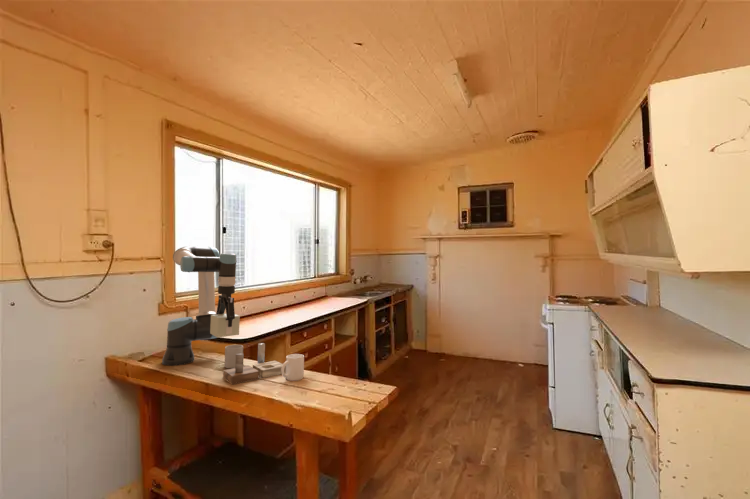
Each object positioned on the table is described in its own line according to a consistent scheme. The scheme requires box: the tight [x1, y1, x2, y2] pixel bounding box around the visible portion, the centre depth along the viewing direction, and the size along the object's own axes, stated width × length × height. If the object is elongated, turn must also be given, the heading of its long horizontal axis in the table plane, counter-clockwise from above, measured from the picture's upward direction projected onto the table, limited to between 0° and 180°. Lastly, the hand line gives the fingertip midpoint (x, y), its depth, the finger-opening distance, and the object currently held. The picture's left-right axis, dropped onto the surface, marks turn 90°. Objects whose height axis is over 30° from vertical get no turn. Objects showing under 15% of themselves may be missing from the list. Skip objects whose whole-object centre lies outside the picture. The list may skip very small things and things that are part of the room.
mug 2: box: [280, 353, 305, 382], centre depth 160 cm, size 12×8×10 cm
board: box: [222, 353, 260, 385], centre depth 160 cm, size 12×12×12 cm
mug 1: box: [224, 344, 244, 369], centre depth 181 cm, size 11×10×10 cm
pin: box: [257, 342, 266, 364], centre depth 178 cm, size 3×3×12 cm
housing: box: [210, 313, 241, 338], centre depth 165 cm, size 10×10×9 cm
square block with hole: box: [252, 360, 286, 379], centre depth 169 cm, size 12×12×4 cm
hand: (224, 331), depth 165 cm, fingers closed on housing, 10 cm apart
